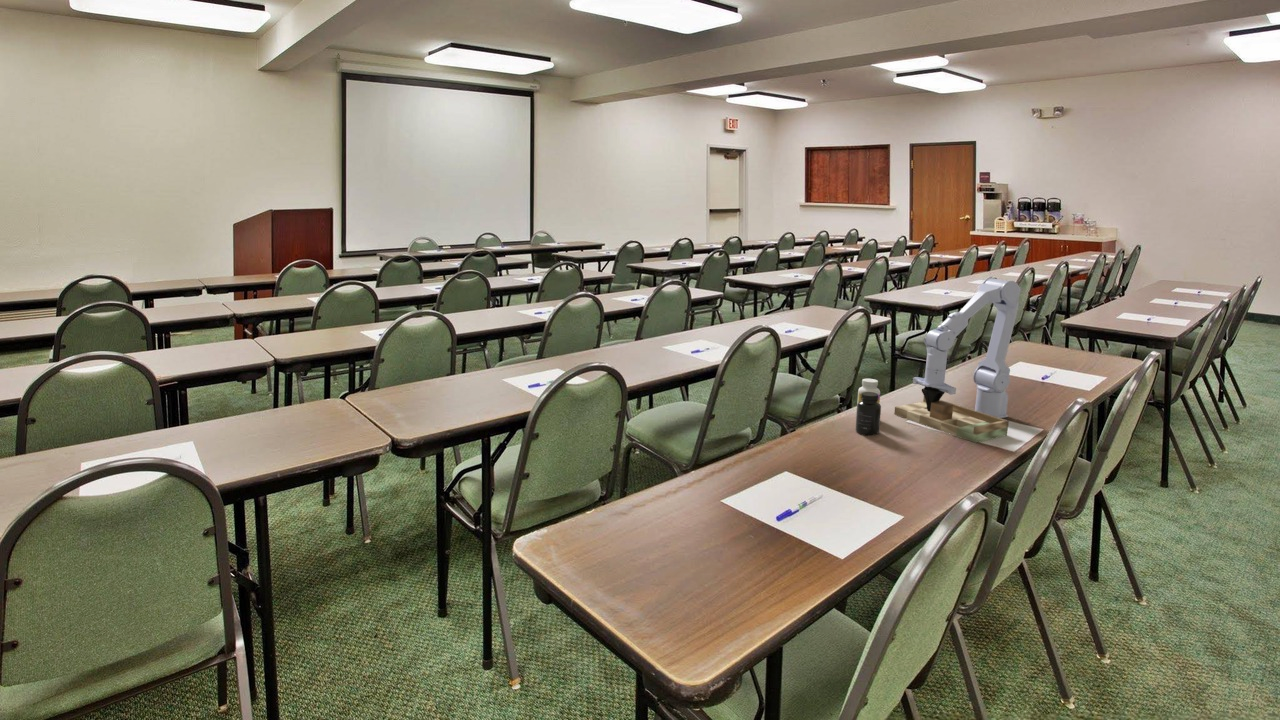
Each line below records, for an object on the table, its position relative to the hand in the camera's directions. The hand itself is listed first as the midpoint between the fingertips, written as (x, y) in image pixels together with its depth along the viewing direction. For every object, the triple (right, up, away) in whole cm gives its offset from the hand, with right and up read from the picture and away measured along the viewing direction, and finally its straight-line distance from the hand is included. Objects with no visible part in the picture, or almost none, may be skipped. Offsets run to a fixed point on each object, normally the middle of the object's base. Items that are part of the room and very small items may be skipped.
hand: (931, 411), depth 221 cm
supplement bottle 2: (-23, -6, -9) cm, 25 cm away
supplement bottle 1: (-19, -3, +3) cm, 20 cm away
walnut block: (+2, -2, -3) cm, 4 cm away
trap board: (+5, -4, -1) cm, 6 cm away
